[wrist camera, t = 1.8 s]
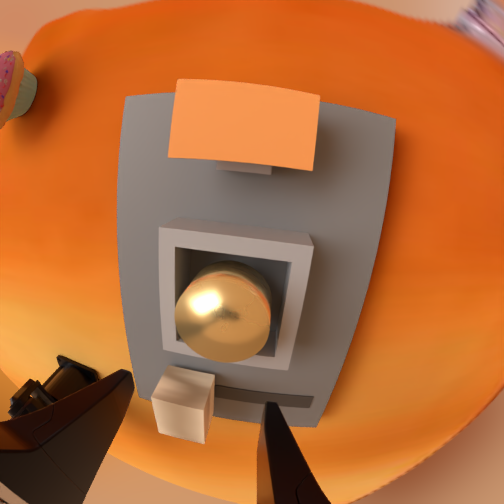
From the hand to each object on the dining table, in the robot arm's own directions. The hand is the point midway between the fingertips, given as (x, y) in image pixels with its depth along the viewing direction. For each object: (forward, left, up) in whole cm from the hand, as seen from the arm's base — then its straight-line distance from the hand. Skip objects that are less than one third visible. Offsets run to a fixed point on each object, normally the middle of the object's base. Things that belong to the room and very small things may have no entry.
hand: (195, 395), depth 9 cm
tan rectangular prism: (-3, -11, -10) cm, 15 cm away
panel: (0, -1, -12) cm, 12 cm away
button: (0, 0, -8) cm, 8 cm away
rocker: (0, +10, -7) cm, 12 cm away
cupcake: (-25, +16, -12) cm, 32 cm away
